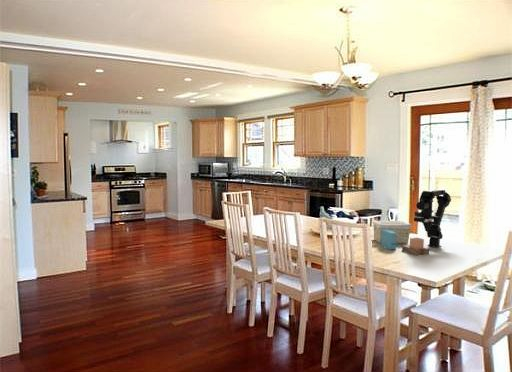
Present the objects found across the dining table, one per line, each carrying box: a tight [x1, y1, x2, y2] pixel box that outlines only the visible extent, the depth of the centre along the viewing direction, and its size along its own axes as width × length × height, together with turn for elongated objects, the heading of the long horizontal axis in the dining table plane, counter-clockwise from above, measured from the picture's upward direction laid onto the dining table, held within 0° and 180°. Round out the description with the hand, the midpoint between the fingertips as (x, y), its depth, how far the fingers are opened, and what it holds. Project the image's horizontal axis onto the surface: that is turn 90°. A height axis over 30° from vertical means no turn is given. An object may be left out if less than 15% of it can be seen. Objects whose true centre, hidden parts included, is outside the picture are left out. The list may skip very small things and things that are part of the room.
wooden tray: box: [401, 244, 430, 257], centre depth 267 cm, size 10×14×4 cm
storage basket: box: [372, 220, 412, 244], centre depth 300 cm, size 24×16×15 cm
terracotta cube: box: [409, 237, 425, 249], centre depth 266 cm, size 6×6×6 cm
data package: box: [380, 230, 398, 251], centre depth 279 cm, size 12×4×12 cm, turn 14°
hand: (426, 231), depth 276 cm, fingers closed
